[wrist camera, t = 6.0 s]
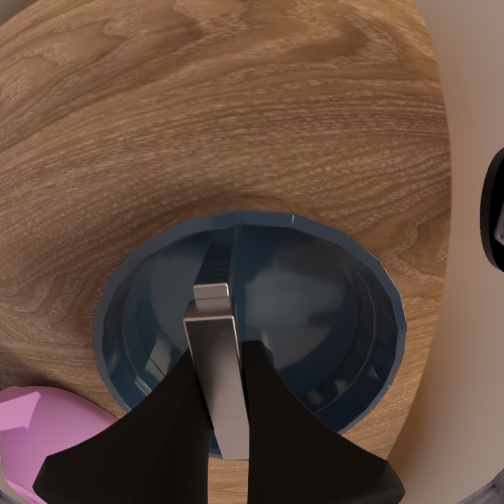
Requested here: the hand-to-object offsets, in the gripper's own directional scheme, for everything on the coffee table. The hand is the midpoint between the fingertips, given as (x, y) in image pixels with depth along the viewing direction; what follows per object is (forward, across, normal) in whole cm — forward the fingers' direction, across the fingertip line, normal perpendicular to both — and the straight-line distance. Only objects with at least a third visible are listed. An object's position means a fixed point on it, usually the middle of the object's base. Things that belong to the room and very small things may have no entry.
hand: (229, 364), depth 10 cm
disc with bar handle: (+4, 0, +2) cm, 4 cm away
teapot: (+6, +16, +14) cm, 22 cm away
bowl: (+5, -1, +2) cm, 6 cm away
